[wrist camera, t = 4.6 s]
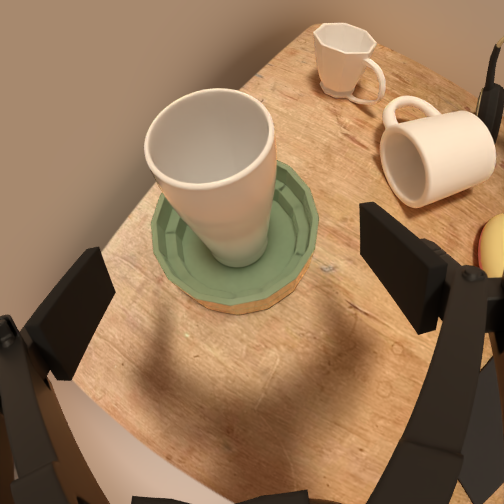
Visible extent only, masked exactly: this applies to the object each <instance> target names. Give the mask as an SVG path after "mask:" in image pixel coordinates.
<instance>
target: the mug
mask: <svg viewBox="0 0 504 504" xmlns="http://www.w3.org/2000/svg"><path fill="white" fill-rule="evenodd" d="M407 106H411V107H415V108H418V109H419V110H421V111H422V112H423V113H424V114H425V115H426V116H427V117H426V118H421V119H416V120H412V121H407V122H403V123H398V122H397V119H396V117H395V110H396V109H399V108H402V107H407ZM382 118H383V124H384V126H385V131H384V132H383V134H382V137H381V141H380V158H381V164H382V168H383V171H384V174H385V177H386V179H387V181H388V183H389V185H390V187H391V189H392V190H393V192H394V193H395V195H396V196H397V197H398V198H399V199H400V200H401V201H402V202H403V203H404V204H406V205H407V206H409V207H412V208H420V207H423V206H426V205H428V204H431V203H433V202H436V201H438V200H441V199H443V198H446V197H448V196H451V195H453V194H456V193H458V192H461V191H463V190H466V189H468V188H471V187H473V186H476V185H478V184H480V183H483V182H485V181H486V180H488V179H489V178H490V176H491V175H492V173H493V171H494V168H495V163H496V150H495V145H494V141H493V139H492V136H491V134H490V132H489V130H488V128H487V127H486V125H485V124H484V123H483V122H482V121H481V120H480V119H479V118H478V117H477V116H476V115H474V114H472V113H470V112H467V111H456V112H451V113H446V114H441V113H440V112H439V111H438V110H437V109H436V108H434V107H433V106H432V105H431V104H429V103H428V102H426V101H424V100H422V99H420V98H417V97H413V96H401V97H398V98H396V99H394V100H392V101H391V102H390V103H389V104H388V105H387V106H386V107H385V109H384V111H383V116H382Z"/></svg>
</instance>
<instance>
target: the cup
mask: <svg viewBox="0 0 504 504" xmlns="http://www.w3.org/2000/svg"><path fill="white" fill-rule="evenodd" d="M313 35H314V44H315V52H316V63H317V68H318V72H319V77H320V79H321V82H320V86H321V88H322V90H323V92H324V93H325V94H327V95H330V96H332V97H334V98H336V99H338V98H347V99H349V100H350V101H352V102H355V103H358V104H364V105H372V104H376V103H378V102H380V101H381V100H382V98H383V97H384V93H385V77H384V74H383V71H382V70H381V68H380V67H379V66H378V65H377V64H376V63H375V62H374V61H373V60H371V59H370V58H371V56H372V53H373V51H374V49H375V47H376V45H377V43H376V42H375V40H374V39H373V38H372V37H371V36H370V34H369V33H368V32H367V31H365V30H363V29H360V28H358V27H355V26H352V25H349V24H347V23H323V24H322V25H321V26H320V27H319V28H318V29H316V30H315V31H314V32H313ZM367 66H368V67H370V68H372V69H373V70H374V71H375V73H376V75H377V78H378V81H379V93H378V98H377V99H376V100H364V99H359V98H357V97H354V96H353V95H352V93H353V92H354V90H355V88H354V87H355V85H356V84H357V83H358V81H359V79H360V78H361V76H362V75H363V73H364V71H365V69H366V67H367Z"/></svg>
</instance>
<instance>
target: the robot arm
mask: <svg viewBox="0 0 504 504" xmlns="http://www.w3.org/2000/svg"><path fill="white" fill-rule="evenodd" d="M359 208H360V255H361V256H362V257H363V259H364V260H365V261H366V262H367V264H368V265H369V266H370V268H371V269H372V270H373V272H374V273H375V274H376V276H377V277H378V279H379V280H380V281H381V283H382V284H383V285H384V287H385V288H386V289H387V291H388V292H389V294H390V295H391V296H392V298H393V299H394V301H395V302H396V303H397V305H398V306H399V308H400V309H401V310H402V312H403V313H404V315H405V316H406V318H407V319H408V321H409V322H410V323H411V325H412V326H413V328H414V329H415V331H416V332H417V334H418V335H420V334H423V333H427V332H430V331H433V330H436V326H437V321H438V317H439V318H440V319H441V320H442V321H443V322H442V326H441V330H440V333H439V337H438V340H437V344H436V347H435V350H434V354H433V357H432V360H431V363H430V366H429V369H428V372H427V375H426V378H425V380H424V383H423V386H422V389H421V391H420V394H419V397H418V399H417V402H416V404H415V407H414V409H413V412H412V414H411V417H410V419H409V422H408V424H407V426H406V428H405V431H404V433H403V435H402V437H401V439H400V440H399V442H398V444H397V446H396V448H395V450H394V452H393V455H392V457H391V459H390V461H389V463H388V465H387V466H386V468H385V470H384V472H383V474H382V476H381V478H380V480H379V482H378V483H377V485H376V487H375V489H374V491H373V492H372V494H371V496H370V497H369V499H368V501H367V503H366V504H449V502H450V499H451V497H452V494H453V491H454V489H455V486H456V483H457V480H458V477H459V474H460V471H461V468H462V464H463V461H464V455H462V454H461V451H462V447H463V443H464V440H465V436H466V433H467V429H468V425H469V421H470V417H471V413H472V408H473V404H474V399H475V394H476V389H477V384H478V379H479V373H480V367H481V360H482V353H483V345H484V336H485V333H489V337H490V342H491V347H492V352H493V357H494V362H495V368H496V374H497V380H498V387H499V395H500V403H501V412H502V423H503V437H504V271H503V275H502V277H494V278H488V276H487V274H486V273H485V271H484V270H482V269H480V268H478V267H475V266H469V265H464V266H461V265H460V264H459V263H458V262H456V261H455V260H454V259H453V258H452V257H451V256H450V255H448V254H446V252H445V251H444V250H441V248H440V247H439V246H438V245H437V244H435V243H434V242H432V241H429V240H427V239H425V238H424V239H419V238H418V237H417V236H415V235H414V234H413V233H412V232H411V231H410V230H408V229H407V228H406V227H405V226H403V225H402V224H401V223H400V222H399V221H397V220H396V219H395V218H394V217H392V216H391V215H390V214H389V213H387V212H386V211H385V210H384V209H382V208H381V207H380V206H378V205H377V204H376V203H375V202H367V203H360V204H359ZM115 293H116V292H115V289H114V287H113V284H112V281H111V279H110V276H109V273H108V271H107V268H106V265H105V263H104V260H103V257H102V254H101V251H100V249H99V247H94V248H90V249H86V251H85V252H84V253H83V254H82V255H81V256H80V257H79V258H78V260H77V261H76V262H75V263H74V264H73V266H72V267H71V268H70V269H69V270H68V271H67V273H66V274H65V275H64V276H63V277H62V279H61V280H60V281H59V282H58V284H57V285H56V286H55V287H54V288H53V290H52V291H51V292H50V293H49V295H48V296H47V297H46V298H45V300H44V301H43V302H42V303H41V304H40V306H39V307H38V308H37V310H36V311H35V312H34V313H33V315H32V316H31V318H30V319H29V320H28V321H27V323H26V324H25V326H24V327H23V328H22V330H21V331H20V332H19V330H18V329H17V327H16V325H15V323H14V321H13V319H12V318H11V316H10V315H3V316H0V504H110V503H109V501H108V500H107V498H106V497H105V495H104V493H103V491H102V490H101V488H100V487H99V485H98V483H97V481H96V479H95V478H94V476H93V474H92V472H91V471H90V469H89V467H88V465H87V463H86V461H85V459H84V457H83V455H82V453H81V451H80V449H79V447H78V445H77V443H76V441H75V439H74V437H73V434H72V432H71V430H70V428H69V426H68V423H67V421H66V419H65V416H64V414H63V412H62V409H61V407H60V404H59V402H58V399H57V397H56V394H55V392H54V389H53V386H52V384H51V382H50V380H49V379H48V377H47V375H48V373H49V371H50V370H51V372H52V373H53V375H54V376H55V378H56V379H57V380H64V381H71V380H72V378H73V376H74V374H75V372H76V370H77V367H78V365H79V363H80V361H81V359H82V357H83V355H84V353H85V351H86V349H87V347H88V345H89V343H90V341H91V339H92V337H93V335H94V333H95V331H96V329H97V327H98V325H99V323H100V321H101V319H102V317H103V315H104V313H105V311H106V309H107V308H108V306H109V304H110V302H111V300H112V298H113V296H114V295H115ZM14 464H15V468H16V471H17V475H18V479H16V480H14ZM131 504H189V503H185V502H182V501H178V500H174V499H166V498H149V497H138V496H132V502H131ZM236 504H341V503H338V502H334V501H329V500H322V499H309V497H308V491H307V490H301V491H295V492H288V493H281V494H273V495H264V496H259V497H256V498H253V499H250V500H247V501H243V502H240V503H236Z"/></svg>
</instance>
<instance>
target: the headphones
mask: <svg viewBox="0 0 504 504" xmlns="http://www.w3.org/2000/svg"><path fill="white" fill-rule="evenodd" d="M503 42H504V36H503V37H502V38H501V39H500V40H499V41H498V43H497V44H495V46H494V49H493V52H492V54H491V57H490V61H489V66H488V71H487V77H486V83H485V87H484V88H482V90H481V92H480V96H479V98H478V102H477V107H476V113H475V115H476V116H477V117H478V118H479V119H480V120H481V121H482V122H483V123H484V124H485V125H486V127H487V128H488V130H489V132H490V134H491V136H492V139H493V141H494V145H495V143H496V140H497V136H498V132H499V128H500V124H501V119H502V114H503V108H504V89H503V87H501V86H500V85H498V84H495V83H494V76H495V67H496V62H497V58H498V55H499V52H500V49H501V45H502V44H503Z"/></svg>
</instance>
